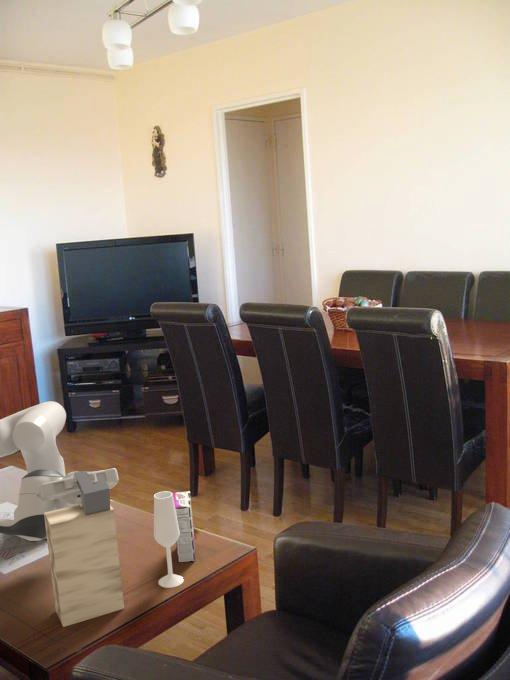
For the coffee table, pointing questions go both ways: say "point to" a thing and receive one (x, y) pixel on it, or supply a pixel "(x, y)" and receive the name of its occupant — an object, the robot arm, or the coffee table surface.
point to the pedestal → (83, 563)
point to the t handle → (93, 494)
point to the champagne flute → (166, 533)
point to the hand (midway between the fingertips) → (83, 478)
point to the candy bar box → (184, 527)
